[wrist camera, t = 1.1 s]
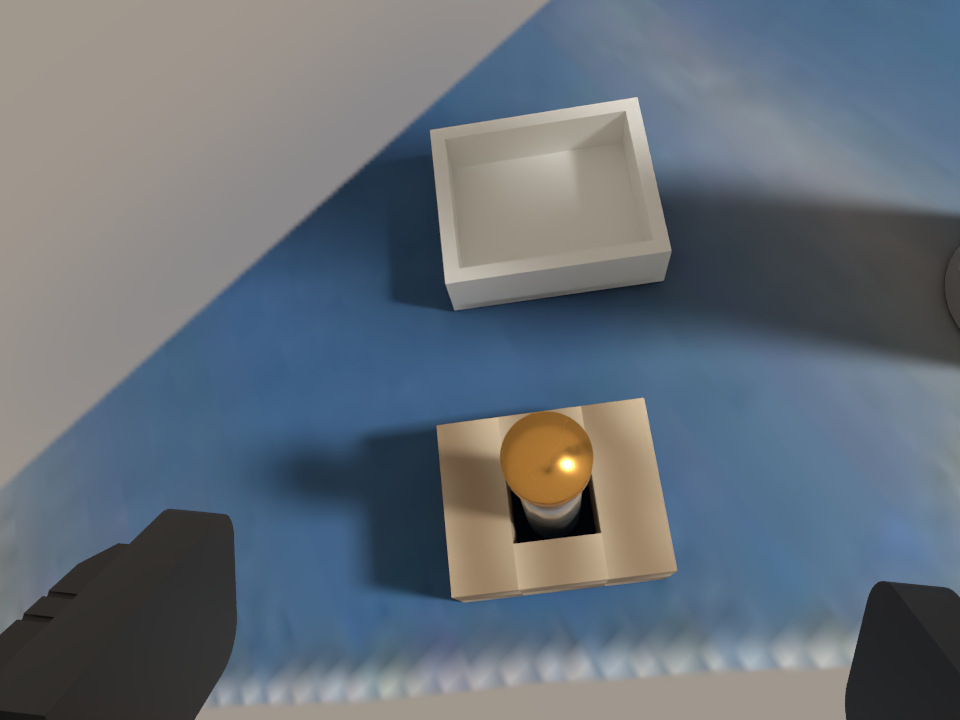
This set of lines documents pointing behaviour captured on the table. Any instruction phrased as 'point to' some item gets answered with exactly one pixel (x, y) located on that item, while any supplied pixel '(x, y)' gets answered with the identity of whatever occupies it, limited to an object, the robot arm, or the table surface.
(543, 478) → the lock pin
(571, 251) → the tray
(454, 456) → the block
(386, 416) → the table surface
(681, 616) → the table surface
